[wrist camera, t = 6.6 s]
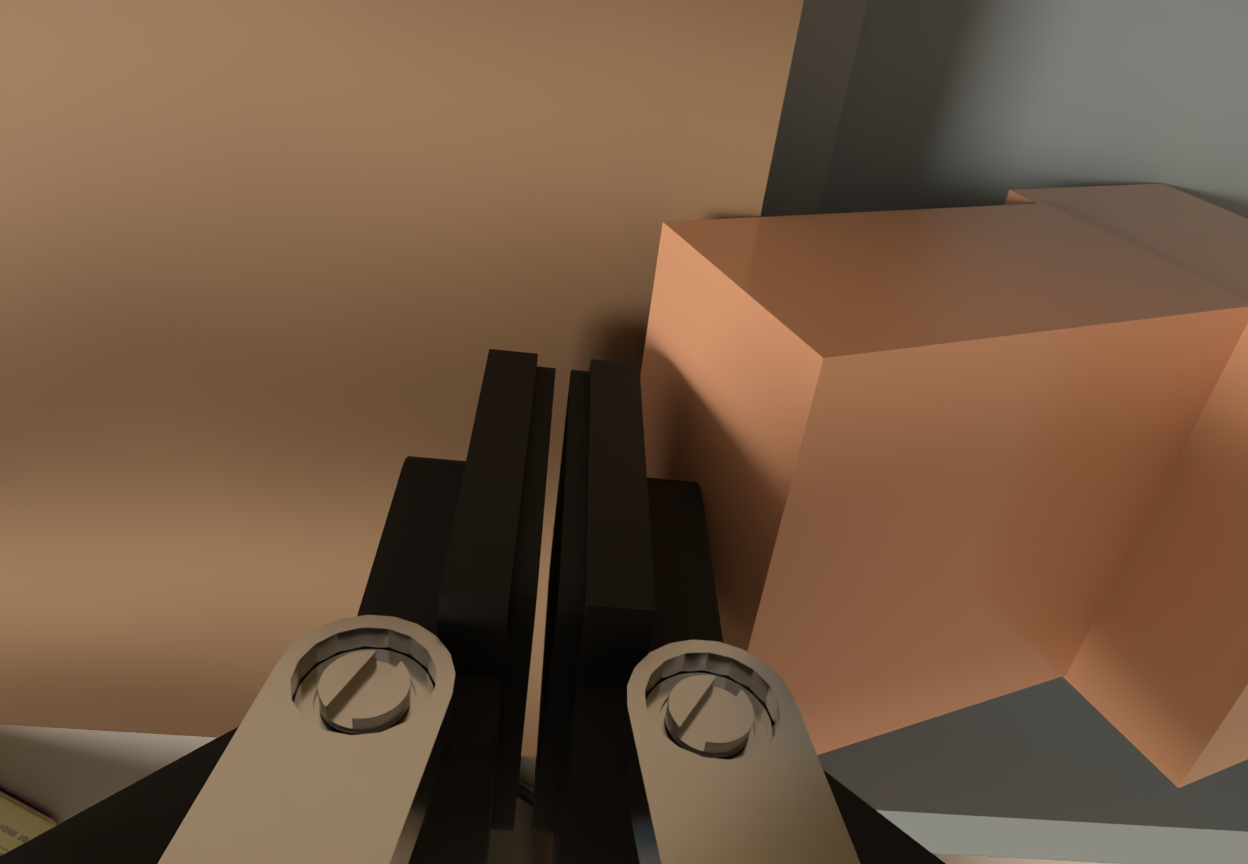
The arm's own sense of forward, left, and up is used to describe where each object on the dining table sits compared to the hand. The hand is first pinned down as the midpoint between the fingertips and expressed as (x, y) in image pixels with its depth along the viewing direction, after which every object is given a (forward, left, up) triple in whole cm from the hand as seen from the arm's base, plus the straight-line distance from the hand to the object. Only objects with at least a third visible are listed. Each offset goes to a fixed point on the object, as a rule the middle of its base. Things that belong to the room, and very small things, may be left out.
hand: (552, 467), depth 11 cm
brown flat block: (0, -4, -5) cm, 6 cm away
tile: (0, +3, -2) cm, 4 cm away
